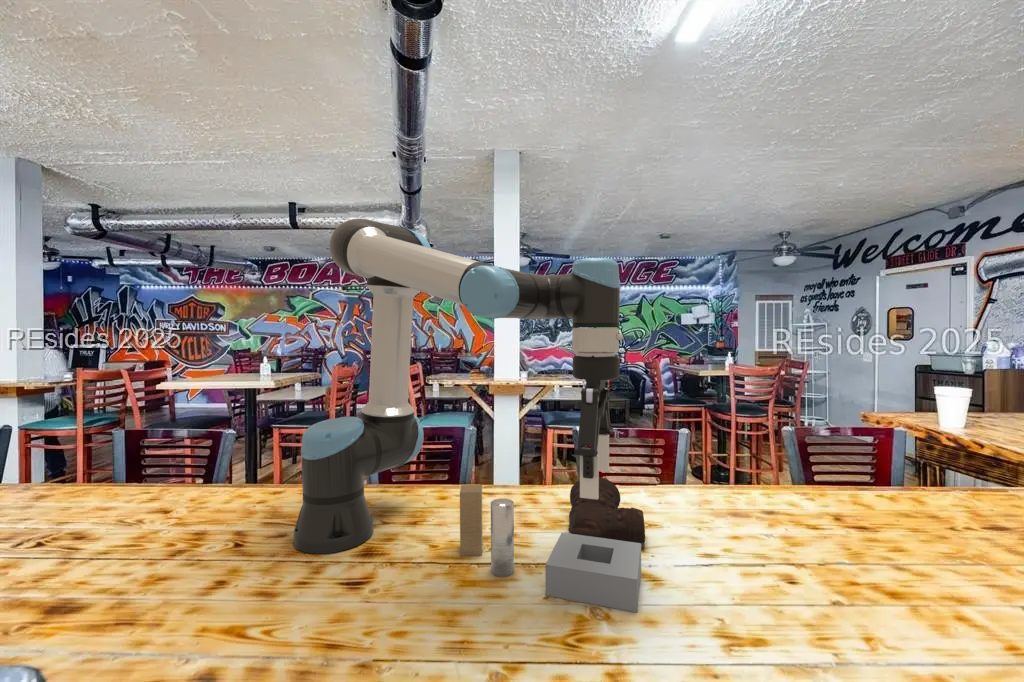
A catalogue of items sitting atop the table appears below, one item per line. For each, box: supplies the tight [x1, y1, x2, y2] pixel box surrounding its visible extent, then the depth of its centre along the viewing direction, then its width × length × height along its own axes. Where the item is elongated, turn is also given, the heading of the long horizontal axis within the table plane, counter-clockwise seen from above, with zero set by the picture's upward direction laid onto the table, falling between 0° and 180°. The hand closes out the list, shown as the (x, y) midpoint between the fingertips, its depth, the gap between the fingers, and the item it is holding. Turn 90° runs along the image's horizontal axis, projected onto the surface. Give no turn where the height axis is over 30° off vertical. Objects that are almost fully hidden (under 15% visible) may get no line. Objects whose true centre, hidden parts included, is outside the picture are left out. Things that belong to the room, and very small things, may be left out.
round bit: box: [490, 498, 515, 578], centre depth 81 cm, size 4×4×12 cm
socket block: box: [545, 532, 642, 613], centre depth 77 cm, size 14×12×5 cm
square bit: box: [459, 484, 484, 557], centre depth 88 cm, size 4×4×12 cm
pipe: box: [568, 477, 646, 546], centre depth 96 cm, size 10×15×15 cm
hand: (595, 483), depth 76 cm, fingers open, 13 cm apart
